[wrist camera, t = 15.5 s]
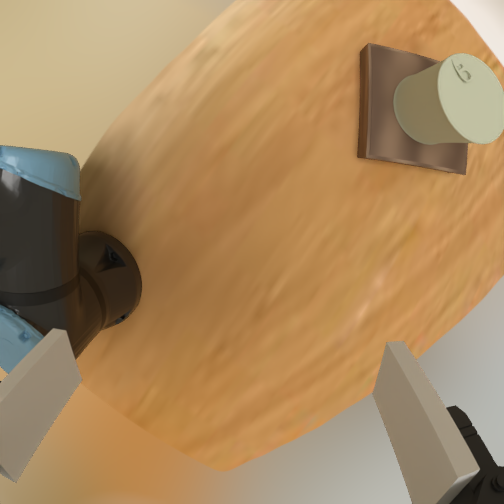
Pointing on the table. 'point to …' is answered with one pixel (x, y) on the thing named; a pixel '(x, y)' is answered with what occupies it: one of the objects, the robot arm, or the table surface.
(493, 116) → the can
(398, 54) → the brown flat square block
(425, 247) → the table surface
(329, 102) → the table surface
